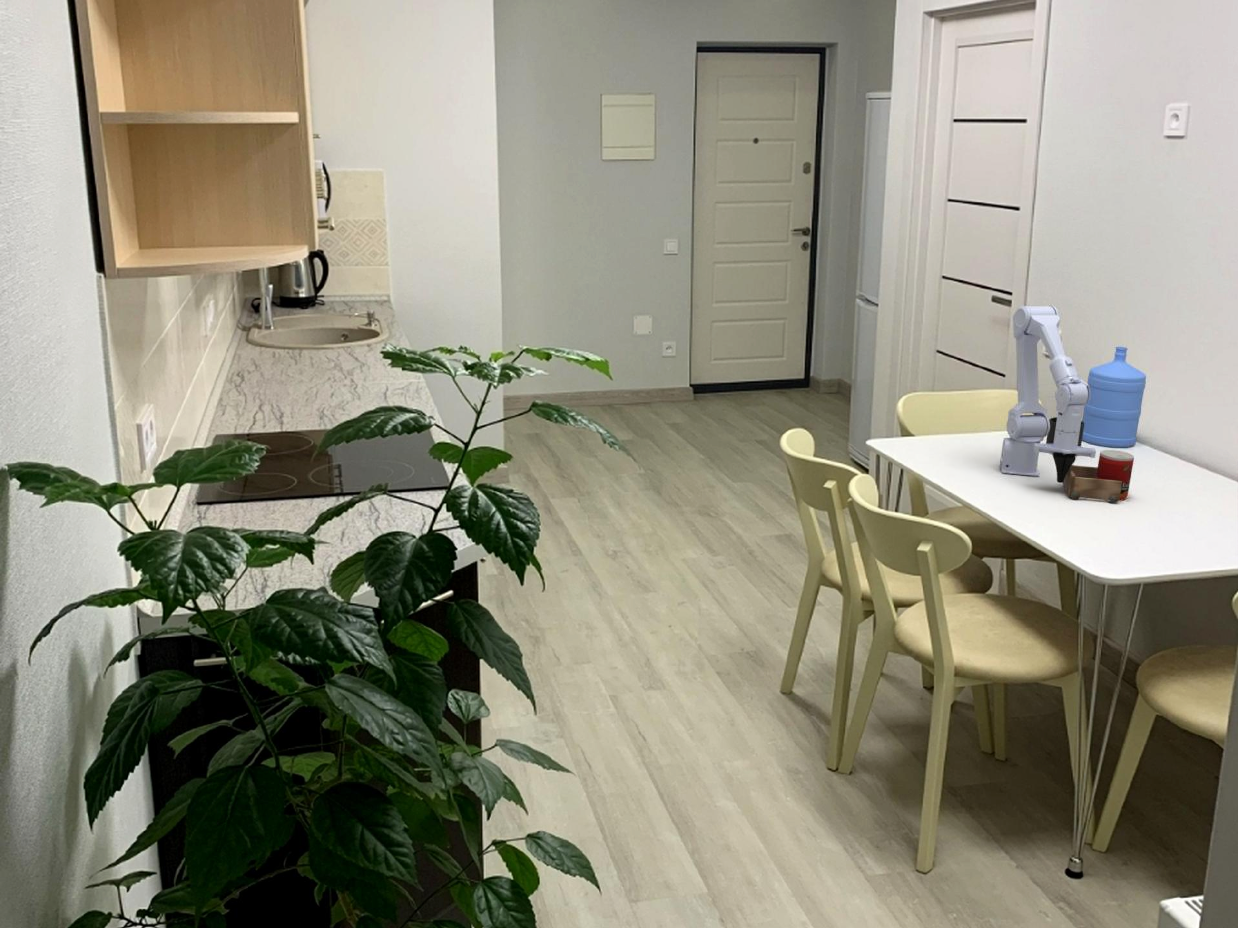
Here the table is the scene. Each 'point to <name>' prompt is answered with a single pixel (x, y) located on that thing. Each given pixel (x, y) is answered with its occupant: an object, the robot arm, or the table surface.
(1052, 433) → the mug
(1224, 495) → the table surface
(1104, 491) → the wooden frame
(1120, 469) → the canned food
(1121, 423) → the water jug
